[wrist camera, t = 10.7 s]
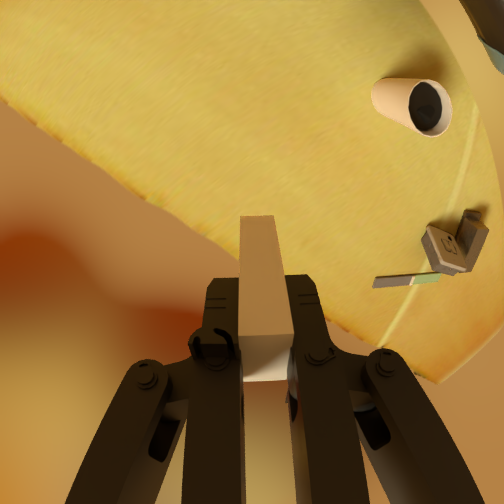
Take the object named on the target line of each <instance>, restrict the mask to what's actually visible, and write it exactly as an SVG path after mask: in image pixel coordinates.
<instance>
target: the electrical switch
mask: <svg viewBox="0 0 504 504" xmlns="http://www.w3.org/2000/svg"><path fill="white" fill-rule="evenodd" d="M426 231H427V233H426V234H425V235H424V237H423V238H422V239H421V242H422V244H423V247H424V249H425V252H426V254H427V257H428V260H429V263H430V265H431V268H432V270H433V271H436V272H440V273H444V274H448V275H451V276H454V275H455V274H456V273H457V272H459V271H460V270H461V271H465V270H466V269H467V266H466V264H465V261H464V259H463V256H462V254H461V252H460V250H459V247H458V245H457V243H456V241H455V239H454V237H453V236H452V235H451V234H449V233H447V232H445V231H442V230H440V229H438V228H435V227H433V226H430V225H428V226H427V227H426ZM429 246H430V247H429ZM450 269H451V270H450ZM449 272H450V273H449Z"/></svg>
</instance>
